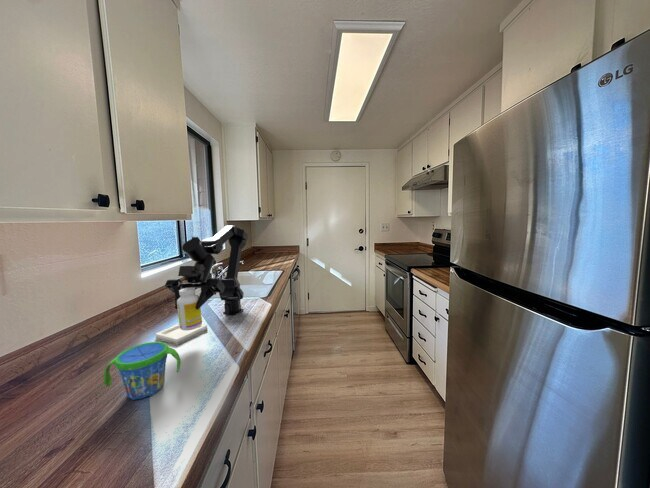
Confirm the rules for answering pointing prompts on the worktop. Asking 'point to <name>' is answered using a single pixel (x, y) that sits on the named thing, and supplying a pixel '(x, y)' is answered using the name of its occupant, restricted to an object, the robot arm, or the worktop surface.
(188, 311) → the supplement bottle
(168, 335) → the tray
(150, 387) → the snack cup
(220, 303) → the worktop surface
